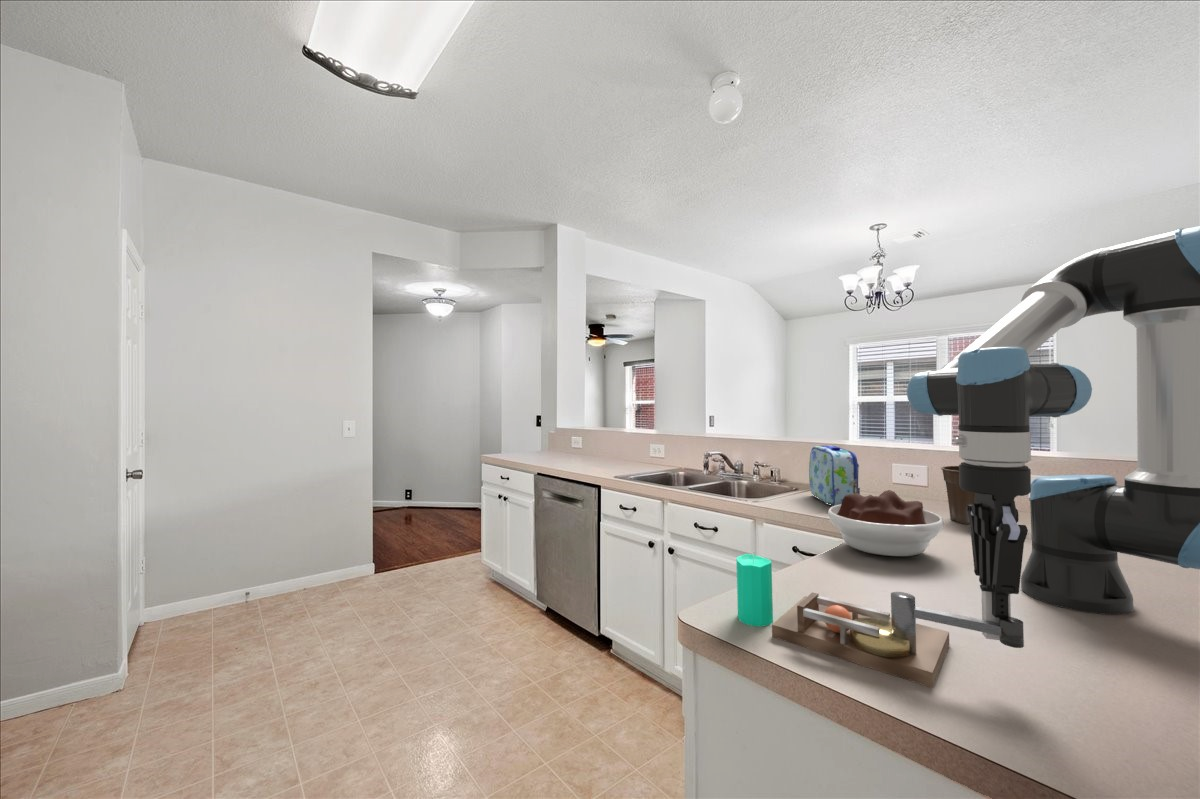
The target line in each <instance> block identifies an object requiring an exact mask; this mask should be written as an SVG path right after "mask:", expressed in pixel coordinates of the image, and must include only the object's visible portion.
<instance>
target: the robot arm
mask: <svg viewBox="0 0 1200 799" xmlns="http://www.w3.org/2000/svg"><path fill="white" fill-rule="evenodd" d="M1122 311H1123V312H1122ZM1112 312H1122V313H1123V314H1122V315H1123V316H1122V317H1123V320H1124V321H1126V322H1127V323H1128V324H1129V323H1130V324H1131V325H1133V326H1134V328H1136V329H1135V330H1136V333H1135V334H1136V417H1137V418H1136V424H1137V425H1136V430H1137V432H1136V433H1137V434H1136V435H1137V436H1136V437H1137V442H1136V443H1137V445H1136V446H1137V449H1136V450H1137V451H1136V452H1137V468H1135V470H1134V471H1132V472H1131V473H1129V474H1127V475H1126V476H1124V486H1123V485H1117V484H1118V481H1117V480H1116V478H1115V477H1114V476H1112V475H1108V474H1107V475H1105V474H1067V475H1066V474H1063V475H1062V474H1061V475H1059V474H1058V475H1044V476H1040V477H1037V478H1034V479H1033V480H1032V476H1031V475H1032V474H1031V473H1032V472H1031V468H1029V466H1028V465H1026V464H1027V463H1029V462H1030V461H1032V447H1031V446H1032V445H1031V444H1032V442H1031V435H1032V434H1031V430H1030V418H1043V417H1044V418H1050V417H1051V418H1060V417H1061V416H1069V415H1072V414H1074V413H1077V412H1078V411H1080V410H1082V409H1083V408H1084V407H1086V405H1087V404H1088V403H1089V401H1090V399H1091V397H1092V393H1093V387H1092V383H1091V380H1090V378H1089V377H1088V375H1086V373H1085V372H1083V371H1082V370H1081V369H1079V368H1077V367H1075V366H1071V365H1068V364H1067V365H1066V364H1060V363H1058V362H1052V363H1031V362H1030V358H1029V357H1030V356H1031V355H1032V354H1034V353H1035V352H1036V351H1037V350H1038V349H1039V348H1040V347H1042V345H1044V344H1045V343H1046V342H1047V341H1048V340H1049V339H1051V338H1052V337H1053V336H1054V335H1055V334H1056V333H1057V332H1059V330H1061V329H1064V328H1069V327H1072V326H1073V325H1075V324H1077V323H1078V322H1079V321H1081V320H1083V319H1084V318H1086V317H1091V316H1095V315H1096V316H1097V315H1101V314H1106V313H1112ZM906 397H907V400H908V401H909V402H908V403H909V404H910V406H911V408H912V409H913V410H914V411H916V412H917V413H920V414H923V415H932V416H933V415H934V416H935V415H936V416H939V417H942V416H958V437H955V438H954V439H953V440H954V441H953V442H954V444H955V445H958V453H959V454H958V456H959V458H960V459H961V460H964V461H963V462H960V464H958V466H959V486H960V488H961V489H963V490H965V491H968V492H972V493H975V497H974V503H972V505H967V512H968V516H969V521H970V524H969V528H970V538H971V549H972V550H971V551H972V558H973V559H972V560H973V569H974V570H973V572H974V574H975V575H976V576H978V577H979V579H978V581H979V583H980V584H979V589H980V590H981V620H986V621H991V622H996V623H999V618H1005V619H1008V617H1012V616H1011V615H1012V614H1011V613H1012V610H1011V609H1012V608H1011V606H1012V604H1011V595H1013V594H1014V595H1019V594H1020V590H1022V592H1024V593H1025V594H1026V595H1028V596H1030V597H1032V598H1034V599H1036V600H1038V601H1041V602H1044V603H1046V604H1050V605H1053V606H1057V607H1061V608H1065V609H1069V610H1072V611H1073V610H1074V611H1078V612H1079V611H1080V612H1085V613H1091V614H1092V613H1093V614H1099V615H1100V614H1101V615H1102V614H1103V615H1124V614H1129V613H1131V612H1133V610H1134V597H1133V594H1132V592H1131V590H1130V587H1129V584H1128V583H1127V581H1126V579H1125V576H1124V574H1123V571H1122V570H1121V568H1120V566H1119V560H1118V553H1119V554H1124V555H1127V556H1128V555H1129V556H1134V557H1140V558H1144V559H1148V560H1152V561H1158V562H1161V563H1168V564H1171V565H1175V566H1176V565H1177V566H1179V567H1181V568H1184V569H1193V570H1194V569H1195V570H1200V225H1198V226H1192V227H1188V228H1182V227H1181V228H1177V230H1173V231H1170V232H1166V233H1165V232H1164V233H1160V234H1157V235H1152V236H1147V237H1145V238H1144V237H1143V238H1141V239H1140V238H1139V239H1137V240H1133V241H1128V242H1125V243H1120V244H1116V245H1112V246H1111V245H1110V246H1105V247H1102V248H1098V249H1095V250H1092V251H1089V252H1086V253H1083V254H1082V255H1080V256H1077V257H1075V258H1073V259H1071V260H1070V261H1068V262H1066V263H1063V264H1062V265H1060V266H1059V267H1057V268H1056V269H1053V270H1052V271H1051V272H1048V274H1046V275H1045V276H1043V277H1042V278H1041V279H1039V280H1037V281H1036V282H1035V283H1034V284H1033V285H1032V286H1030V287H1029V288H1028V289H1027V290H1025V292H1024V293H1023V295H1022V297H1021V301H1020V302H1019V304H1017V305H1016V306H1015V307H1014V308H1013V309H1012V310H1010V311H1009V312H1008V313H1007V314H1005V315H1004V316H1003V317H1002V318H1001V319H999V320H998V321H996V323H995V324H993V325H992V326H991V327H990V328H989V329H987V330H986V331H985V332H983V334H981V335H980V336H979V337H977V339H975V340H974V341H973V342H971V344H969V345H968V346H967V347H966V348H963V350H962V351H961V352H960V353H959V354H957V355H956V356H955V357H954V358H952V359H951V360H949V362H947V363H946V364H945V365H944V366H942V367H941V368H940V369H938V370H932V369H931V370H927V371H921V372H917V373H916V374H914V375H913V376H912V377H911V379H910V380H909V382H908V383H907V387H906ZM1028 495H1029V498H1028V501H1030V502H1029V504H1030V505H1029V506H1030V528H1031V529H1030V532H1031V533H1030V534H1031V552H1030V554H1029V557H1028V559H1027V561H1026V564H1025V567H1024V568H1023V567H1022V565H1023V555H1024V545H1025V541H1026V538H1027V535H1028V532H1029V529H1028V527H1027V525H1025V524H1018V522H1019V510H1018V509H1017V508H1016V501H1015V498H1017V497H1023V496H1028ZM1022 568H1023V571H1022ZM1020 588H1021V589H1020ZM981 634H982V636H983V637H984V638H985V639H986V640H995V641H1000V636H999V635H994V634H989V633H985V632H981Z"/></svg>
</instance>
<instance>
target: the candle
mask: <svg viewBox="0 0 1200 799" xmlns="http://www.w3.org/2000/svg"><path fill="white" fill-rule="evenodd" d="M735 561H736V562H735V563H736V590H737V591H736V594H737V602H736V603H737V618H738V621H740V622H742V623H743V624H744V625H748V626H751V627H766V626H770V625H772V624H773V623H774V616H773V615H774V609H773V608H774V607H773V572H772V568H773V567H772V566H773V565H772V561H771V559H770V558H766V557H763V556H760V555H756V554H755V551H754V550H753V551H752V554H750V553H745V554H741V555H739V556H736V560H735Z"/></svg>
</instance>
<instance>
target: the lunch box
mask: <svg viewBox="0 0 1200 799" xmlns="http://www.w3.org/2000/svg"><path fill="white" fill-rule="evenodd" d="M808 463H809V465H808V466H809V469H808V472H809V473H808V474H809V475H808V476H809V482H808V483H809V489H810V492H811V495H812V494H813V495H814V496H816V497H818V498H819V499H821V500H822V501H821V500H820V501H821V502H823V501H824V502H825V503H824V502H823V503H824V504H826V503H828V504H831V505H834V506H835V505H840V504H842V500H843V498H844V496H845V495H849V494H854V493H858V494H860V495H861V491H860V490H861V487H859V468H860V465H859V463H858V458H857V455H856V453H855V452H853V451H851V450H847V449H846V448H845V449H844V448H843V447H839V446H835V445H816V446H812V448H811V451H810V454H809V462H808ZM813 495H812V496H813ZM814 496H813V497H814ZM816 497H815V498H816ZM818 498H817V499H818ZM819 499H818V500H819Z"/></svg>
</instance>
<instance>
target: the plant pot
mask: <svg viewBox="0 0 1200 799" xmlns="http://www.w3.org/2000/svg"><path fill="white" fill-rule="evenodd" d="M940 470H942V476H943V481H944V482H945V488H946V494H947V502H948V510H949V518H950V520H951V521H954V522H955V521H956V522H957V523H960V524H964V525H965V524H966V525H970V521H969V516H968V512H967V505H972V503H974V497H975V493H972V492H968V491H965V490H963V489H961V488H960V486H959V465H946V466H945V465H944V466H941V467H940Z"/></svg>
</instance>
